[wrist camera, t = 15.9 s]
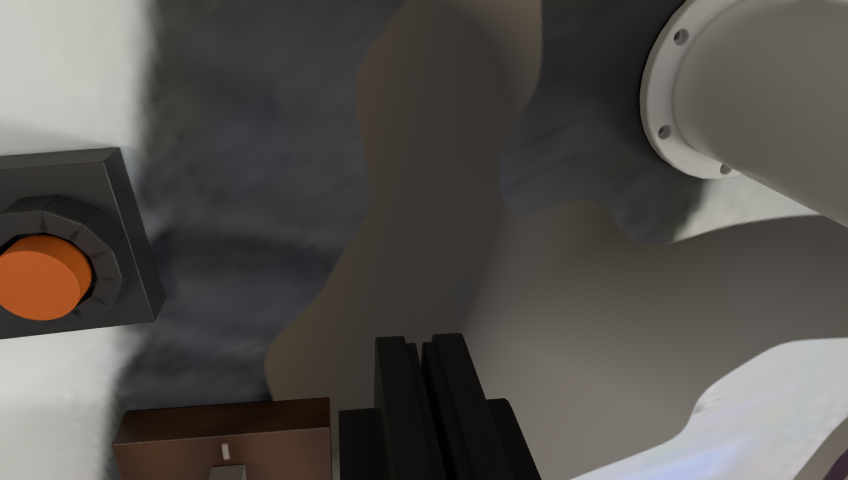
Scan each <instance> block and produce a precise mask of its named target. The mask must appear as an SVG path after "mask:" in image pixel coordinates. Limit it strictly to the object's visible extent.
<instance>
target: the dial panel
mask: <svg viewBox="0 0 848 480" xmlns="http://www.w3.org/2000/svg"><path fill="white" fill-rule="evenodd" d="M330 426H331V425H330V398H329V397H327V398H313V399H298V400H284V401H270V402H255V403H241V404H227V405H213V406H199V407H185V408H171V409H156V410H142V411H128V412H126V413H125V415H124V417H123V420H122V422H121V424H120V426H119V429H118V431H117V433H116V435H115V438H114V440H113V442H112V444H111V446H112V449H113V453H114V456H115V460H116V463H117V467H118V470H119V474H120V477H121V480H209V477H210V473H211V468H212V467H220V466H232V465H245V471H246V479H247V480H332V454H331V427H330Z"/></svg>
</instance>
